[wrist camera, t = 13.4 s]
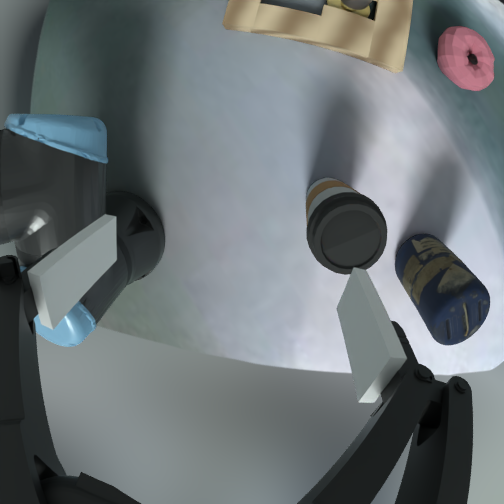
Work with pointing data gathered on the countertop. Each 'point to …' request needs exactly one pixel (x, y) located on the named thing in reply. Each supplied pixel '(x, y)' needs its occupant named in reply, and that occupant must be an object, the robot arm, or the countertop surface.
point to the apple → (465, 58)
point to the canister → (442, 289)
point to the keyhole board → (332, 28)
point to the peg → (352, 6)
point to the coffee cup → (343, 227)
